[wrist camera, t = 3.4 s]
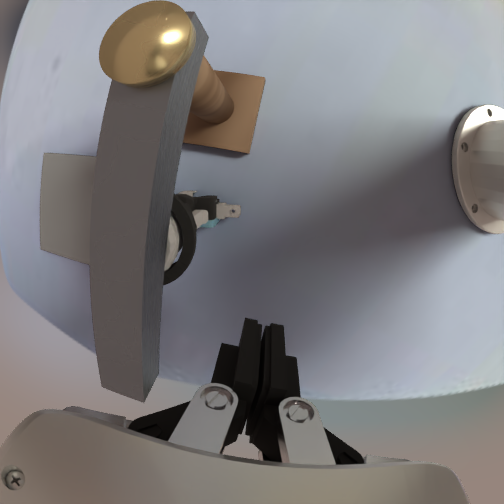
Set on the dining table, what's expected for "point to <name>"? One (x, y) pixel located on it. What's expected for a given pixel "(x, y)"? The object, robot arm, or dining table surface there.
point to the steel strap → (138, 184)
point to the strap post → (224, 109)
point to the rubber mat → (66, 205)
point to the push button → (190, 228)
